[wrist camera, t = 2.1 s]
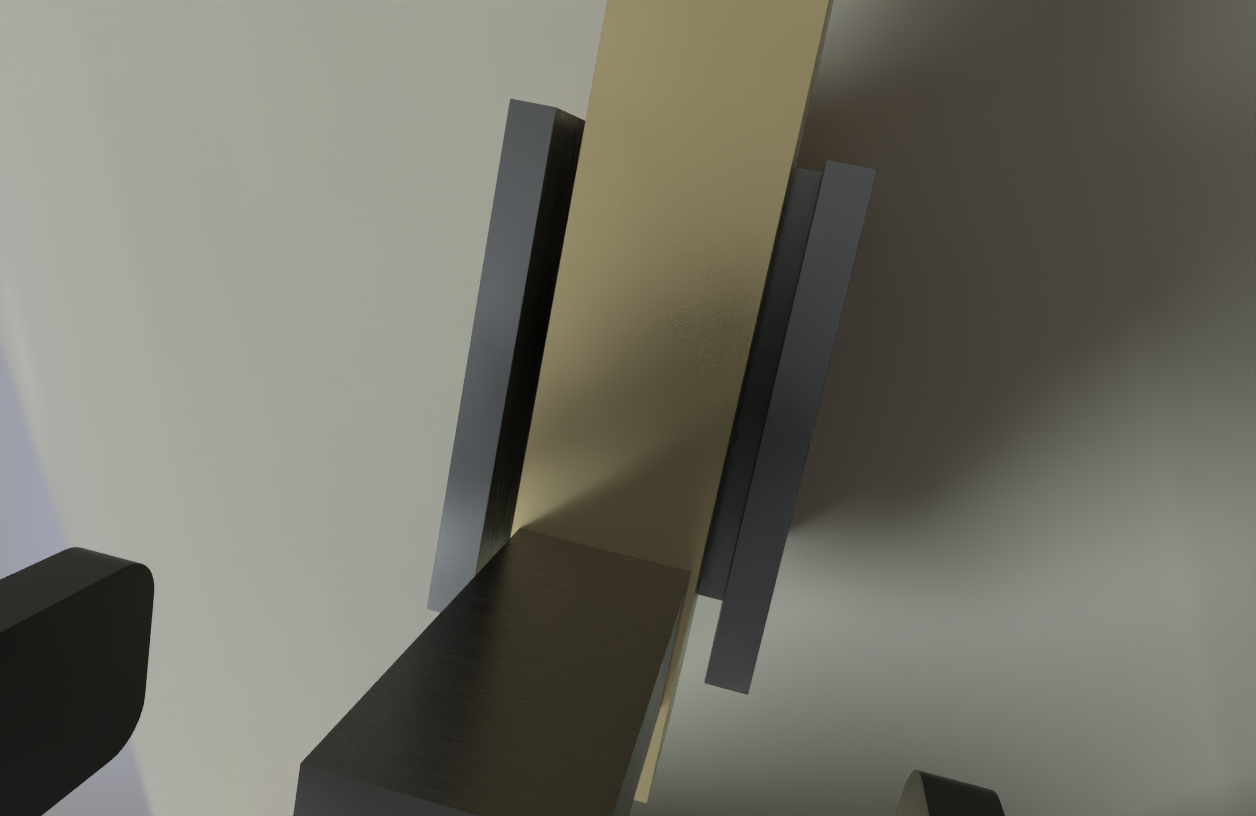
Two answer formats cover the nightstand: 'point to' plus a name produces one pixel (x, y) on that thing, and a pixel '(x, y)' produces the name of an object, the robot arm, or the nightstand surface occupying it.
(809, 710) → the nightstand surface
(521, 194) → the sleeve
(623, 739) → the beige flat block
